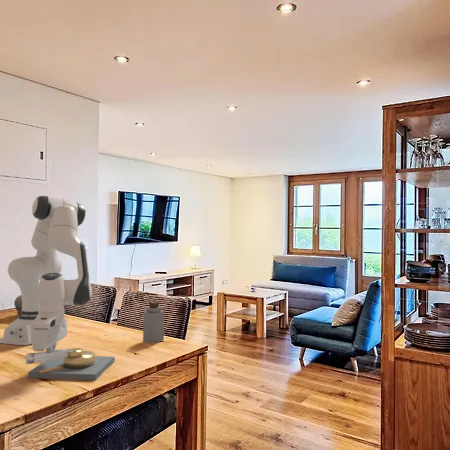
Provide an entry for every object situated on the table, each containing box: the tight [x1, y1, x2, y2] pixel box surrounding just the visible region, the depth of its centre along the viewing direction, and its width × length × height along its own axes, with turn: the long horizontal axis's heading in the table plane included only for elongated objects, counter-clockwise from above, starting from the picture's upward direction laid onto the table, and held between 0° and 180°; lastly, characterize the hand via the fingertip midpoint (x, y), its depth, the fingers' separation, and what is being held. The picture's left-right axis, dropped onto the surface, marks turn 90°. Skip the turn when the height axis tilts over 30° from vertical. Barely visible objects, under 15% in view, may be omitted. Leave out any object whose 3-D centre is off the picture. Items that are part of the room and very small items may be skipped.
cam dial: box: [25, 347, 96, 368], centre depth 148 cm, size 24×11×6 cm, turn 123°
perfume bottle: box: [142, 301, 165, 344], centre depth 193 cm, size 7×7×18 cm
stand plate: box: [27, 355, 115, 381], centre depth 152 cm, size 24×20×2 cm
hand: (50, 356), depth 149 cm, fingers closed
